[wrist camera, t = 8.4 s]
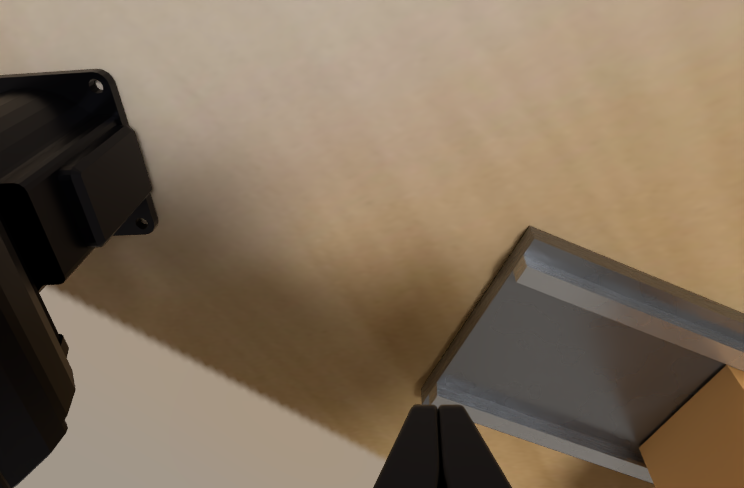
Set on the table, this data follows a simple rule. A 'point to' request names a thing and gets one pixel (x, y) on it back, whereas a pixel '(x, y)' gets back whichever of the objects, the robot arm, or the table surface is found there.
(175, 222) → the table surface
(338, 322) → the table surface
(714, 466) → the orange padlock
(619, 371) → the grey stand with block
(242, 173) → the table surface
